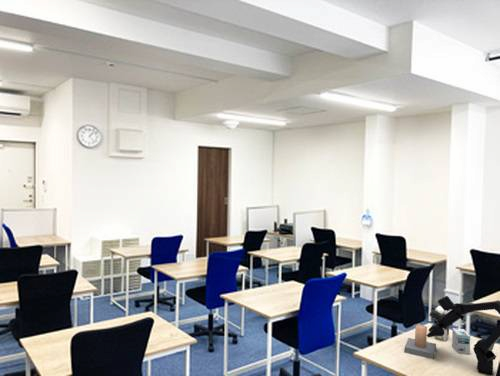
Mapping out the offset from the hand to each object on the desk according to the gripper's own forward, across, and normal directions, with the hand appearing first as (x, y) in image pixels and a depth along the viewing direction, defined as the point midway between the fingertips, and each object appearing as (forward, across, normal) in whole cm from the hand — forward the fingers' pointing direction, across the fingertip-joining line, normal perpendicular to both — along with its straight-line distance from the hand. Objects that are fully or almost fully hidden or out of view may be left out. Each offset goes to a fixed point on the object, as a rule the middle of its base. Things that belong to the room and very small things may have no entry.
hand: (428, 333), depth 220 cm
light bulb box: (-4, -14, +19) cm, 24 cm away
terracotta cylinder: (+8, 0, +3) cm, 9 cm away
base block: (+10, 0, +5) cm, 11 cm away
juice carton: (+4, -26, +12) cm, 29 cm away
